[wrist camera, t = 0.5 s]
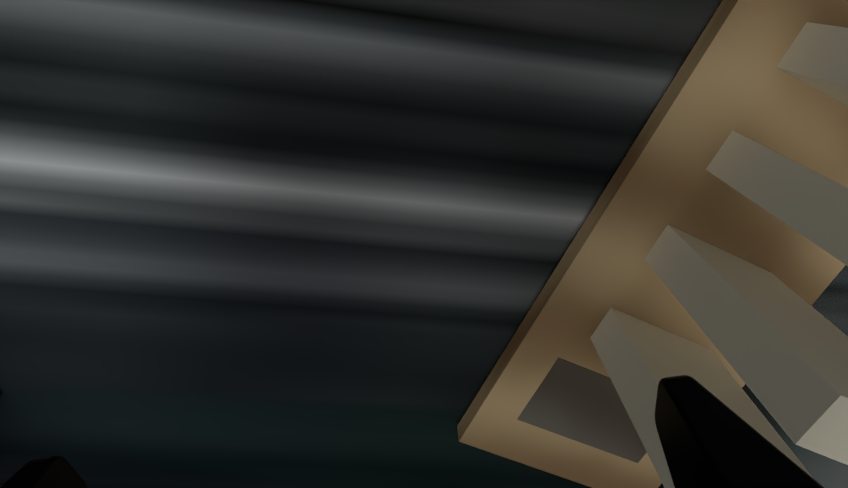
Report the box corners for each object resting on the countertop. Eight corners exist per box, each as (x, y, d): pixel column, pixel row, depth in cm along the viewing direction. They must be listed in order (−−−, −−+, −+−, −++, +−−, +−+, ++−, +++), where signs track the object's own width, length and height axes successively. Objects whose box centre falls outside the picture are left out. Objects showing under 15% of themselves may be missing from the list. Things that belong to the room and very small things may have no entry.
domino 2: (746, 304, 24) (947, 504, 15) (644, 259, 23) (795, 444, 14) (771, 272, 24) (996, 461, 15) (667, 224, 23) (840, 394, 14)
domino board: (636, 488, 30) (643, 505, 29) (457, 426, 28) (458, 442, 27) (1061, -29, 20) (1093, -29, 19) (835, -182, 18) (859, -190, 17)
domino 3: (688, 377, 26) (840, 599, 17) (590, 337, 25) (695, 550, 16) (710, 349, 25) (881, 563, 16) (611, 307, 24) (733, 510, 15)
